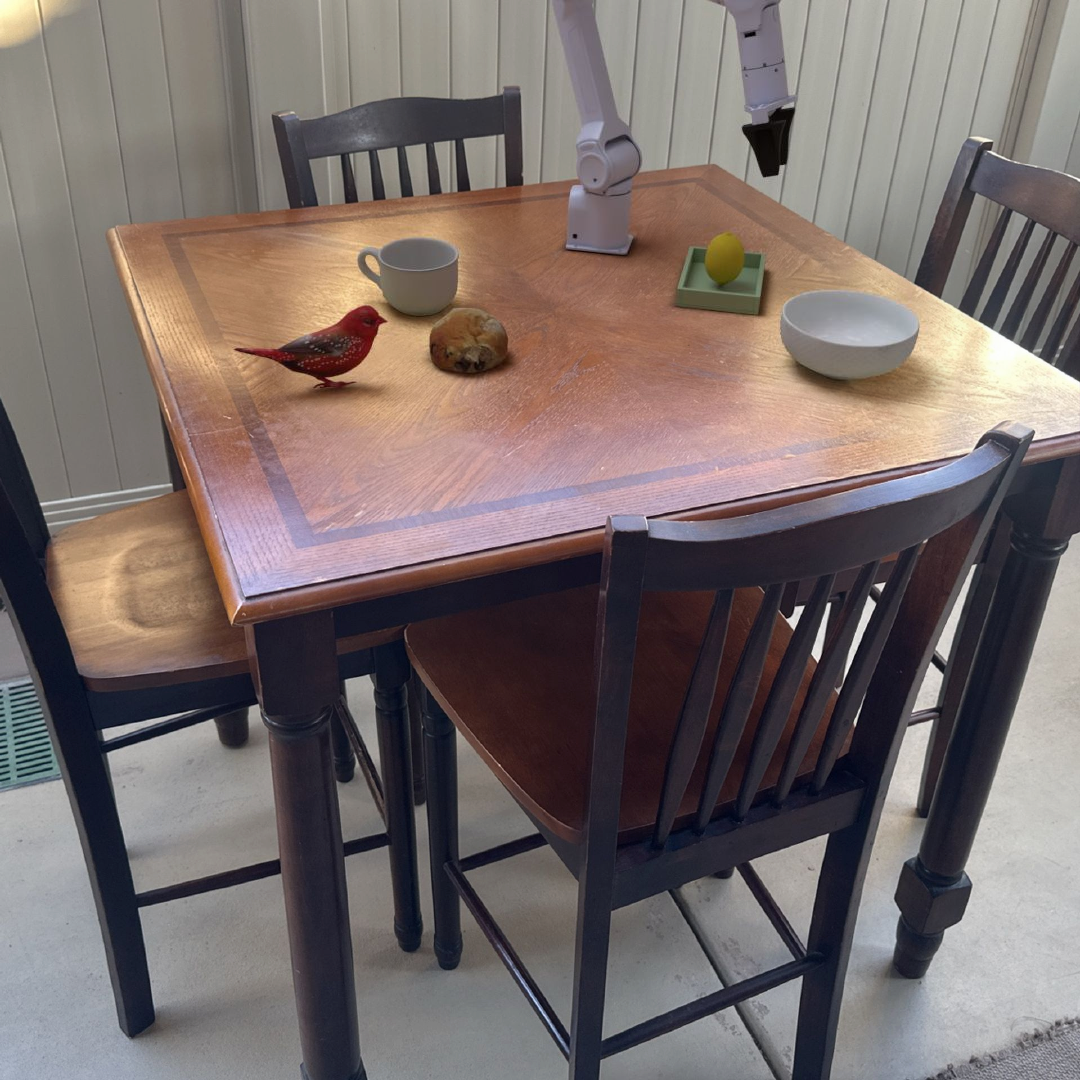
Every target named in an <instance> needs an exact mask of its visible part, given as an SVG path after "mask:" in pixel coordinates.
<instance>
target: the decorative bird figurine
mask: <svg viewBox="0 0 1080 1080" xmlns="http://www.w3.org/2000/svg"><path fill="white" fill-rule="evenodd" d="M385 323H388V320H387V319H385V318H384V317H382V316H381V315H380V314H379V312H378V311H377V310H376V309H375V307H373V306H372V305H367V304H365V305H364V304H363V305H361V306H358V307H356V308H354V309H352V310H351V311H349V312H347V313H346V314H345V315H344V316H343V317H342V318H341V319H340V320H339V321H338V322H337V323H334V324H333V325H330V326H328V327H326V328H323V329H319V330H317V331H314V332H311V333H308V334H305V335H303V336H300V337H298V338H295V339H294V340H292V341H290V342H288V343H286V344H284V345H283V346H281V347H279V348H257V347H256V348H254V347H236V348H234V349H233V350H234V351H236V352H239V353H243V354H247V355H251V356H257V357H259V358H265V359H268V360H272V361H274V362H276V363H279V364H280V365H282V366H283V367H284V368H286V369H288V370H289V371H291V372H293V373H298V374H304V375H307V376H310V377H313V378H315V379H316V380H318V381H320V383H317V384H315V385H314V386H313V387H312V388H313V389H315V388H317V387H319V389H326V388H327V389H328V388H335V389H339V388H343V387H345V386H347V385H351V384H357V383H358V382H357V381H349V382H347V381H346V382H345V381H341V380H340V381H334V380H331V379H330V378H335V377H338V376H342V375H345V374H347V373H349V372H351V371H352V370H354V369H355V368H357V367H358V366H360V364H362V363H363V362H364V360H365V359H366V358H367V357H368V355H369V354H370V352H371V350H372V347H373V345H374V341H375V338H376V337H377V335H378V333H379V327H380V326H381V325H383V324H385ZM328 378H329V379H328Z"/></svg>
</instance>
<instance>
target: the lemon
mask: <svg viewBox="0 0 1080 1080" xmlns="http://www.w3.org/2000/svg"><path fill="white" fill-rule="evenodd" d="M707 248H708V249H707V252H706V256H705V268H706V271H707V274H708V276H709V277H710V278H711V279H712V280H713V281H715V282H717V283H718V285H719V286H724V285H725V284H726V283H729V282H732V281H733V280H735V279H736V278H737V277H738V276H739V274H740V273H741V271H742V268H743V265H744V251H745V248H744V244H743V242H742V241H741V239H740V238H739V237H738V236H736V235H735V234H732V232H731V231H725V232H724V233H721V234H717V235H716V236H715V237H714V238H713V239H711V241H710V242H709V243H708V246H707Z"/></svg>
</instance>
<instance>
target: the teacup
mask: <svg viewBox="0 0 1080 1080" xmlns="http://www.w3.org/2000/svg"><path fill="white" fill-rule="evenodd" d="M367 256H371V257H373V258H374V259H375V260H376V263H377V265H378V267H379V274H377V273H376V272H374V271H373V270H372V269H371V268H370V267H369V266H368V264H367V262H366V258H367ZM459 257H460V252H459V250H458V249H457V247H456V246H454V245H453V244H451V243H450V242H448V241H446V240H442V239H438V238H434V237H424V236H423V237H421V236H417V237H416V236H414V237H413V236H412V237H406V238H405V237H404V238H400V239H396V240H393V241H390V242H388V243H386V244H385V245H383V246H381V248H380V249H378V248H377V247H374V246H366V247H363V249H362V250H360V251H359V253H358V255H357V260H356V261H357V266H358V268H359V270H360V272H361V273H362V274H363V276H365V277H366V278H367V279H368V280H370V281H371V282H373V283H374V284H376V286H378V288H379V289H380V290H381V293H382V296H383V298H384V299H385V301H386V302H387V303H388V304H389V305H390V306H391V307H393V308H395V309H396V310H397V311H398V312H400V313H401V314H404V315H408V316H415V317H425V316H431V315H434V314H437V313H440V312H441V311H442V310H444V309H445V308H446V307H447V306H449V305H450V304H451V303H452V302H453V301H454V300H455V298H456V295H457V293H458V287H459Z"/></svg>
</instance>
